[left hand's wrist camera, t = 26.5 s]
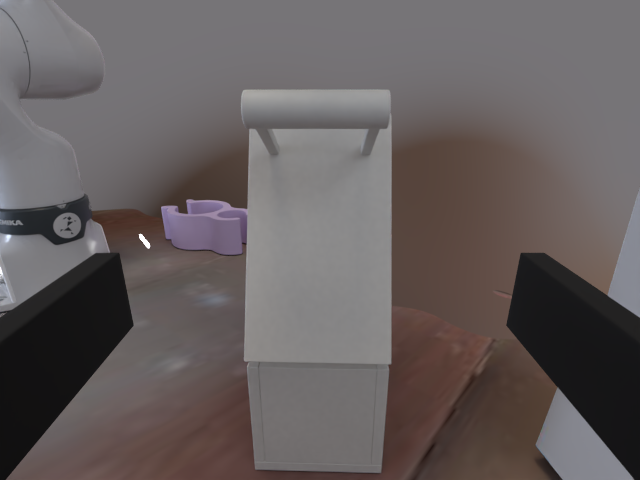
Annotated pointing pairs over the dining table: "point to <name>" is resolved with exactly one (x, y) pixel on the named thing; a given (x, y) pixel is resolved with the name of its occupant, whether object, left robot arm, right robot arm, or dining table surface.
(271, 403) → the chest
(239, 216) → the clip
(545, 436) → the electronic device
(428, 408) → the dining table surface
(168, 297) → the dining table surface
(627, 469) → the left robot arm
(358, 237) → the lid
